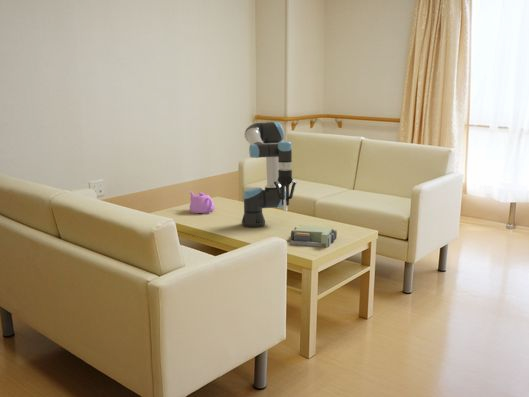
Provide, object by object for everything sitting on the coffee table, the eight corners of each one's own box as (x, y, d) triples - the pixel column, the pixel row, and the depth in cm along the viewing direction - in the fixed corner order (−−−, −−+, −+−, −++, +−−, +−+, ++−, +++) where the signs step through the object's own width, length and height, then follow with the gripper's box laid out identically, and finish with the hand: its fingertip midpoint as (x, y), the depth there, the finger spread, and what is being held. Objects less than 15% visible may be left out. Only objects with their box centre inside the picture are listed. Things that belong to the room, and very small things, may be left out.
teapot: (222, 211, 395) (221, 192, 392) (202, 216, 383) (201, 196, 380) (199, 206, 412) (199, 188, 410) (180, 211, 400) (179, 192, 397)
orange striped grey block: (294, 243, 313) (294, 234, 312) (297, 240, 318) (297, 231, 317) (308, 244, 311) (308, 235, 310) (310, 241, 315) (310, 232, 314)
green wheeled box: (286, 244, 313) (286, 232, 311) (296, 234, 332) (296, 223, 330) (329, 247, 305) (329, 235, 304) (336, 237, 324) (336, 225, 323)
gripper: (271, 170, 307) (272, 211, 312) (294, 170, 303) (295, 213, 308) (275, 168, 314) (276, 208, 319) (298, 168, 310) (298, 210, 315)
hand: (285, 210), depth 314 cm, fingers closed
